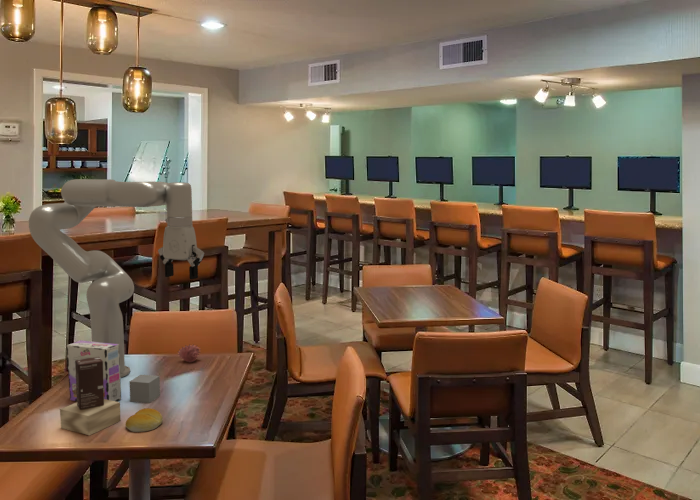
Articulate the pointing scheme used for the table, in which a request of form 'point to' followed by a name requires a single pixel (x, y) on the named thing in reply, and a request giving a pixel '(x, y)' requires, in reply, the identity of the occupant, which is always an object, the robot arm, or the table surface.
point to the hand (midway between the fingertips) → (181, 277)
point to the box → (89, 382)
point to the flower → (189, 353)
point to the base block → (90, 417)
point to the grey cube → (144, 388)
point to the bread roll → (144, 420)
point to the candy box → (110, 366)
